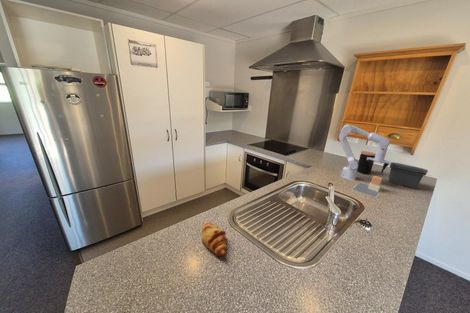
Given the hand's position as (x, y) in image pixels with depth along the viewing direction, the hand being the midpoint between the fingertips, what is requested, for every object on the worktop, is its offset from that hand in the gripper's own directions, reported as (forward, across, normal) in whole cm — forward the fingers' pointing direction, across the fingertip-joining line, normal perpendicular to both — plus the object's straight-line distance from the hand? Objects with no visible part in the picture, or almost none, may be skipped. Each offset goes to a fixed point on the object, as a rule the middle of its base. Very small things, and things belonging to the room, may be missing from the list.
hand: (375, 171), depth 139 cm
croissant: (+10, -29, -129) cm, 132 cm away
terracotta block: (+6, +4, -11) cm, 13 cm away
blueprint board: (+10, 0, -16) cm, 19 cm away
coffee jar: (+10, -12, +22) cm, 27 cm away
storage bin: (+11, +16, +21) cm, 28 cm away
